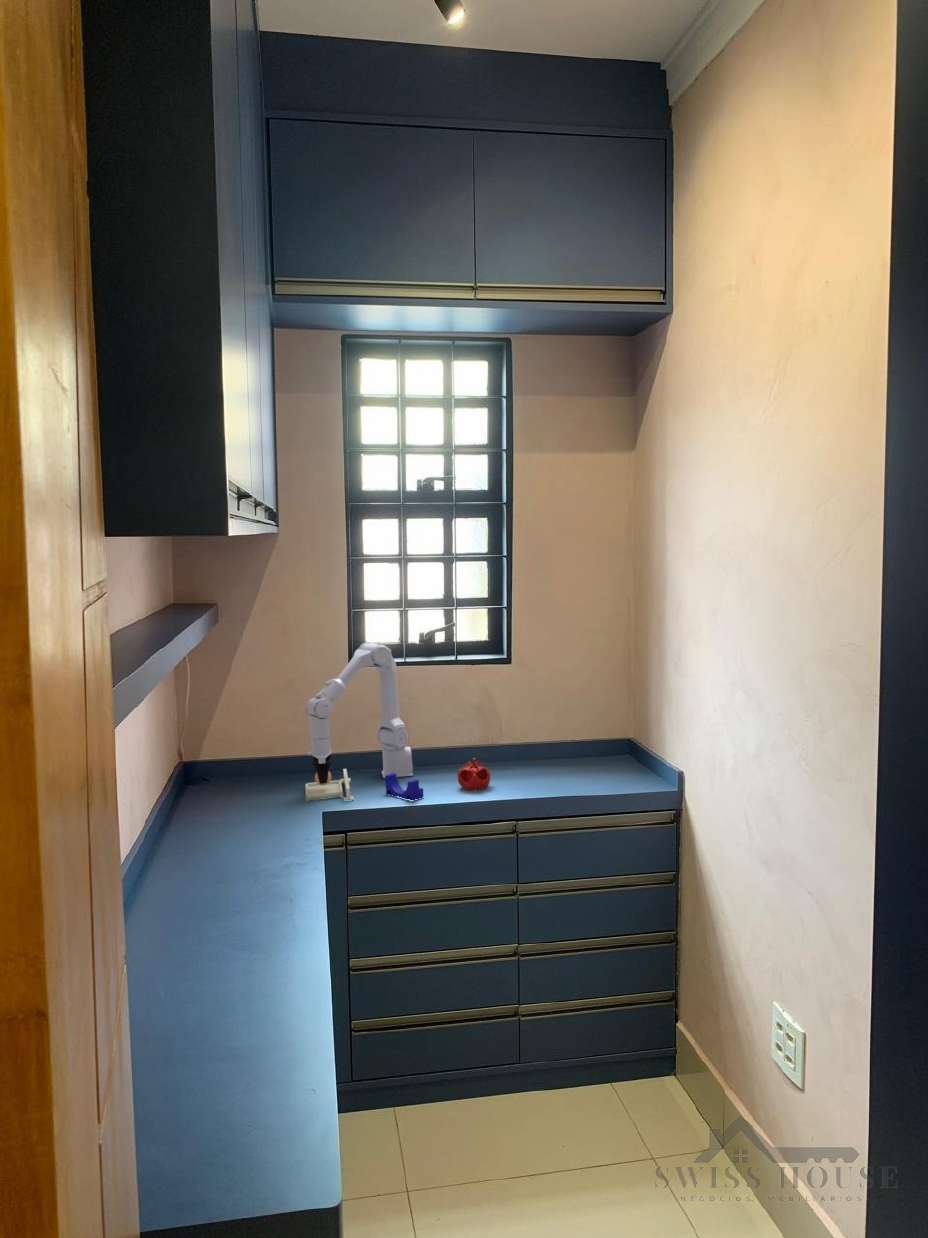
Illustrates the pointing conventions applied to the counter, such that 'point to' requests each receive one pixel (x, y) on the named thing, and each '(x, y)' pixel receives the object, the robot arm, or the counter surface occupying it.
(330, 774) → the ball
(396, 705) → the robot arm
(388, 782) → the cable clip
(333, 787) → the resting dish
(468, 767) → the red carved pumpkin
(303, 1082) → the counter surface
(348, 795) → the low wall
